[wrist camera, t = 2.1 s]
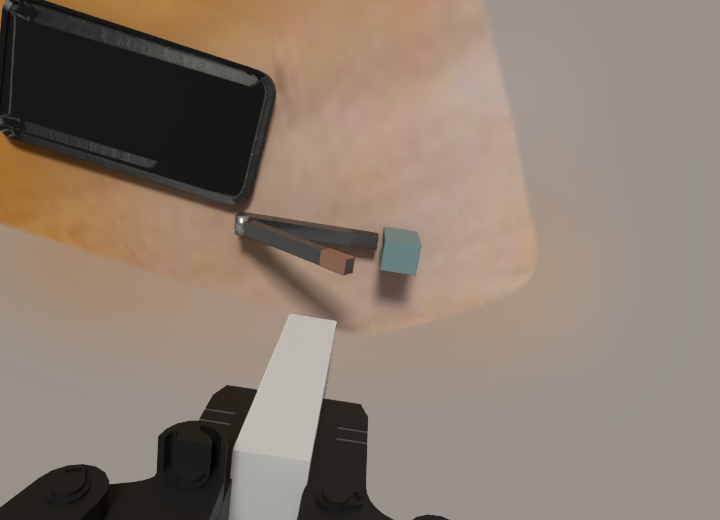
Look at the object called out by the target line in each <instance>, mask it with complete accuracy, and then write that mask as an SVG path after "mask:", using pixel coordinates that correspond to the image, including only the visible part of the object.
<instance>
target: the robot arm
mask: <svg viewBox="0 0 720 520" xmlns="http://www.w3.org/2000/svg"><path fill="white" fill-rule="evenodd" d="M336 323H337V321H333V320H327V319H320V318H314V317H307V316H301V315H294V314H290V315H289V317H288V319H287V322H286V324H285V327H284V329H283V332H282V334H281V336H280V339H279V341H278V343H277V346H276V348H275V350H274V353H273V355H272V358H271V360H270V363H269V365H268V367H267V369H266V372H265V374H264V377H263V379H262V382H261V384H260V387H259V389H258V390H255V389H249V388H242V387H236V386H229V385H227V386H225V387H224V388H222V389H221V390H219V391H218V392H217V393H215V394H214V395H213V396H212V398H211V399H210V401H209V403H208V405H207V406H206V410H204V412H203V414H202V415H201V417H200V420H199V421H187V422H182V423H177V424H175V425H173V426H171V427H169V428H167V429H166V430H165V431H164V432H163V433H162V434H160V435H159V437H158V458H157V473H156V475H155V476H154V477H152V478H150V479H146V480H143V481H137V482H130V483H119V484H109V480H108V478H107V476H106V474H105V472H103V471H102V470H100V469H99V468H97V467H95V466H89V465H84V464H81V465H69V466H65V467H62V468H58V469H55V470H52V471H50V472H49V473H47V474H45V475H43V476H42V477H40V478H38V479H37V480H36V481H34V482H33V483H32V484H30V485H29V486H28V487H27V488H25V489H24V490H23V491H21V492H20V493H19V494H18V495H16V496H15V497H13V498H12V499H11V500H9V501H8V502H7V503H5V504H4V505H3V506H2V507H0V520H393V519H391V518H389V517H387V516H386V515H384V514H383V513H381V512H380V511H379V510H378V509H377V508H376V507H375V506H374V505H373V504H372V502H371V501H370V499H369V497H368V495H367V491H366V464H367V431H368V416H367V415H366V413H365V411H364V409H363V408H362V406H361V404H356V403H349V402H343V401H336V400H330V399H325V394H326V388H327V382H328V376H329V369H330V362H331V355H332V348H333V343H334V336H335V330H336ZM413 520H448V519H446V518H444V517H441V516H434V515H424V516H419V517H416V518H415V519H413Z"/></svg>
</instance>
